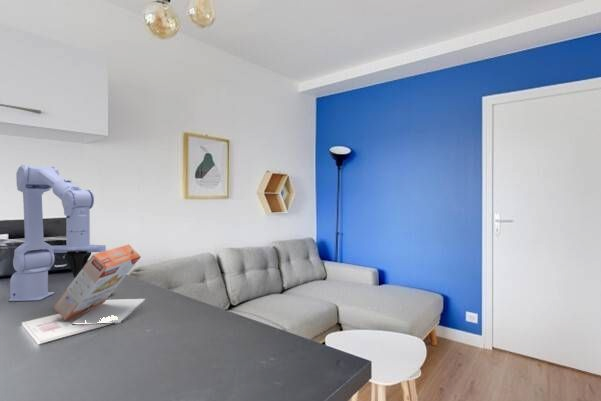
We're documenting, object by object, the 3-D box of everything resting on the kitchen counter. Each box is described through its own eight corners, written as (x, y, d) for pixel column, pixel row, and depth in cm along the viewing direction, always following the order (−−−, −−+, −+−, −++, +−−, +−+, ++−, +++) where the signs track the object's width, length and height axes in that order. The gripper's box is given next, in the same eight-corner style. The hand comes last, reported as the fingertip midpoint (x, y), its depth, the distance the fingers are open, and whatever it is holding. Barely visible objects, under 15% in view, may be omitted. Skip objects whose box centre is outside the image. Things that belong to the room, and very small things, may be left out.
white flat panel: (72, 324, 89) (72, 323, 89) (106, 301, 109) (106, 299, 109) (119, 323, 91) (119, 321, 91) (145, 300, 111) (145, 298, 111)
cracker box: (66, 322, 91) (107, 268, 88) (51, 307, 92) (91, 253, 88) (105, 303, 105) (142, 256, 101) (92, 290, 106) (128, 242, 102)
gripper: (42, 232, 94) (42, 281, 94) (97, 232, 95) (97, 279, 95) (57, 229, 101) (58, 275, 101) (109, 229, 102) (109, 274, 103)
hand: (78, 277), depth 99 cm, fingers closed
